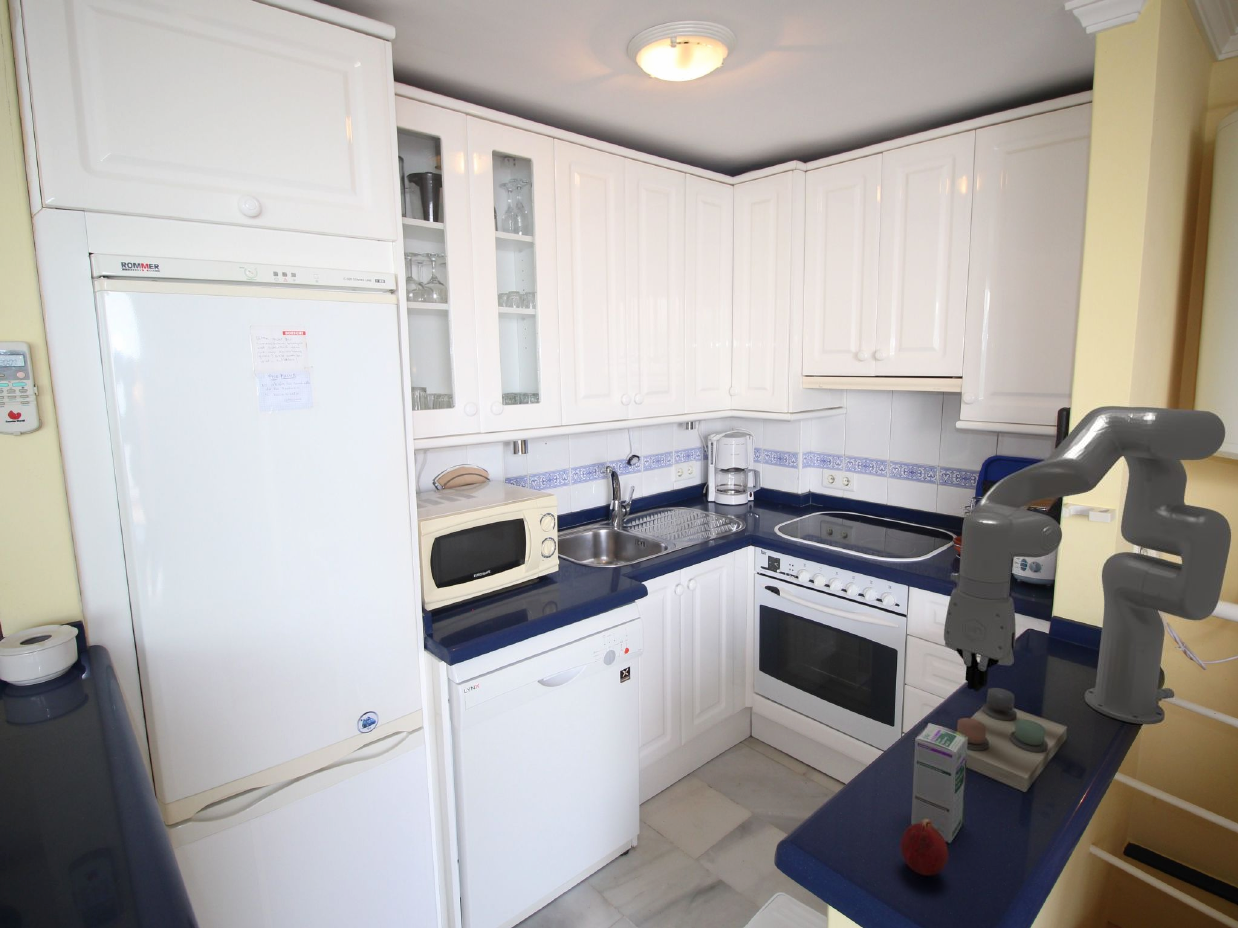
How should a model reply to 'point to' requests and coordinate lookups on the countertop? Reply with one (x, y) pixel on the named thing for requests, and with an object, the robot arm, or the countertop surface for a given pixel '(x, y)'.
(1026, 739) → the green button
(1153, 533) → the robot arm
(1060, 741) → the button panel
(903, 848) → the onion
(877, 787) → the countertop surface
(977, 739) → the terracotta button
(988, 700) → the charcoal button
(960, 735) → the syrup box
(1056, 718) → the countertop surface
